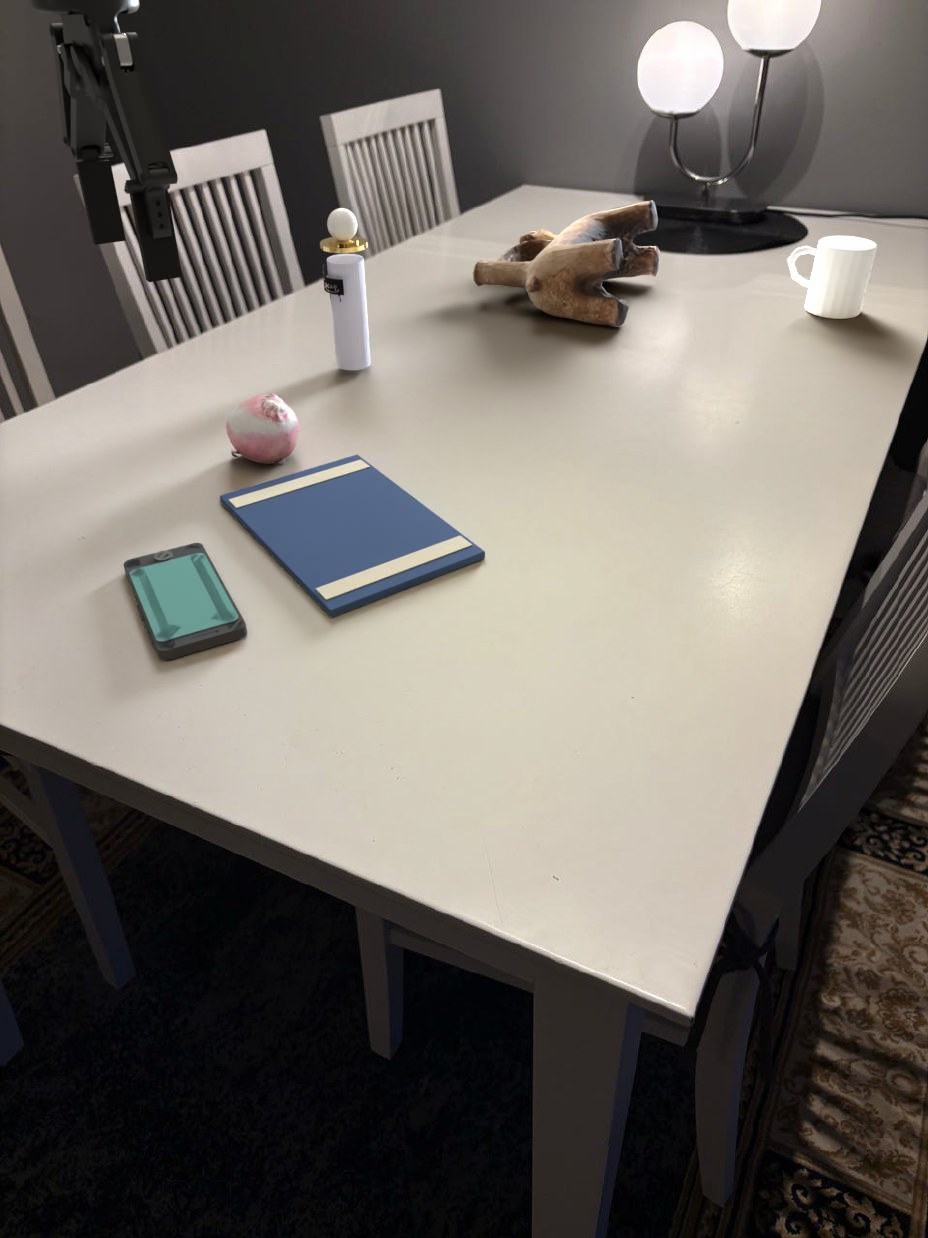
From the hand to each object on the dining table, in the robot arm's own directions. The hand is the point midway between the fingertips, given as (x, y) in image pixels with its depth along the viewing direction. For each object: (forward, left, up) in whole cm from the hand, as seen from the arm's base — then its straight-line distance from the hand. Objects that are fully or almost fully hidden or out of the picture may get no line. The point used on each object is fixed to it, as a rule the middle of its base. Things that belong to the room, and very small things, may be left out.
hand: (135, 259), depth 77 cm
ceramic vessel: (-31, +75, -25) cm, 85 cm away
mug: (-3, +102, -25) cm, 105 cm away
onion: (-6, +11, -25) cm, 28 cm away
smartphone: (+15, -6, -25) cm, 29 cm away
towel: (+12, +11, -24) cm, 29 cm away
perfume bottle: (-23, +32, -25) cm, 46 cm away
